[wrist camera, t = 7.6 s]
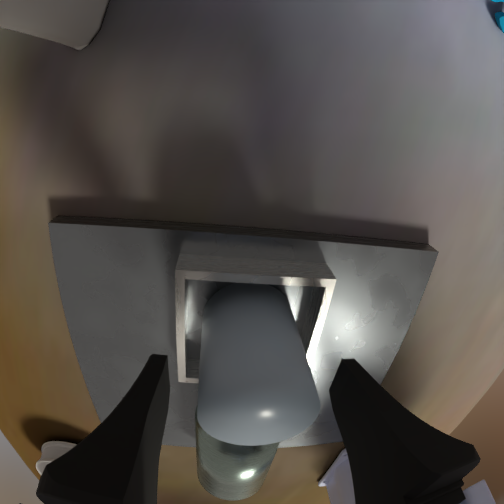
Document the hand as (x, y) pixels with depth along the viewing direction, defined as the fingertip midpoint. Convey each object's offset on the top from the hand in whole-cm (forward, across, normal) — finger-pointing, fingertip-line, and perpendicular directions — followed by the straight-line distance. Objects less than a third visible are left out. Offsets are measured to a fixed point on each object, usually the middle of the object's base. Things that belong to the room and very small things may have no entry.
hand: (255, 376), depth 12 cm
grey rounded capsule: (+4, 0, 0) cm, 4 cm away
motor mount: (+5, 0, +4) cm, 7 cm away
